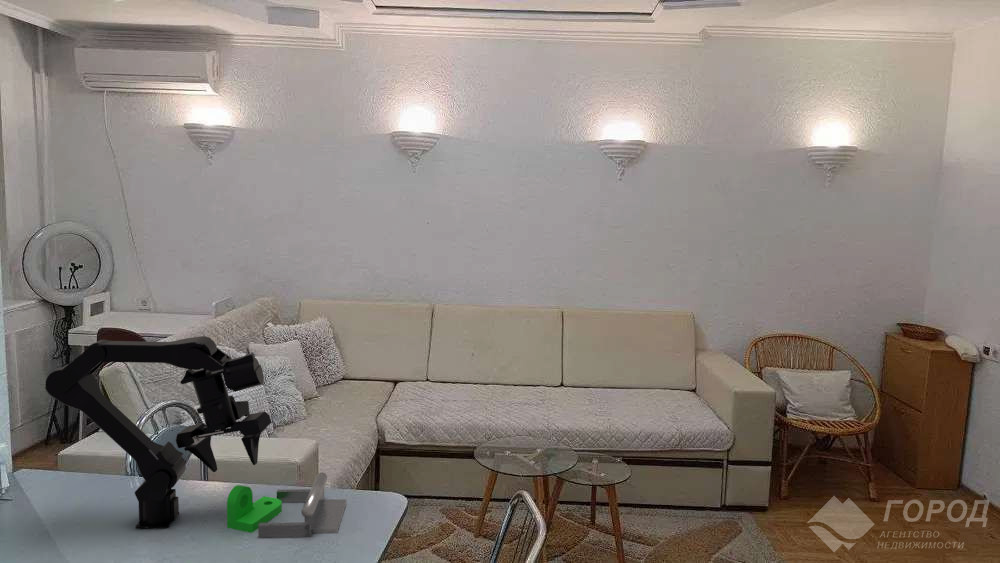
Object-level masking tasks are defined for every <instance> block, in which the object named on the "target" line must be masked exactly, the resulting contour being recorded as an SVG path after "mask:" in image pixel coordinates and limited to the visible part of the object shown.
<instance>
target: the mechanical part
mask: <svg viewBox="0 0 1000 563" xmlns="http://www.w3.org/2000/svg"><path fill="white" fill-rule="evenodd" d="M253 495H254V494H253V490H252V488H251V487H249V486H247V485H240V484H238V485H235V486H234V487H233V488H232V489H231V490H230V491H229V493H228V496H227V499H226V524H227V526H226V528H227V529H231V530H236V529H237V530H236V531H240V532H246V533H247V532H248V533H251V534H252V533H254V532H256V531H257V530H258V525H259V523H270V521H272V520H273V519H274V518H276V517H277V516H278V514H279V513H280V512H281V513H282V511H283V510H282V508H283V506H282V505H283V503H282V502H281V500H279V499H277V497H272V496H271V497H270V496H266V495H265V496H262V497H260V498H259V499H257V500H255V501H254V500H253V498H254V497H253ZM253 501H254V502H253ZM281 513H280V514H281ZM280 514H279V515H280ZM275 516H276V517H275ZM272 518H273V519H272Z"/></svg>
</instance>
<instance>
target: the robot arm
mask: <svg viewBox="0 0 1000 563" xmlns="http://www.w3.org/2000/svg"><path fill="white" fill-rule="evenodd" d="M104 363H144V364H145V363H147V364H149V363H150V364H151V363H152V364H153V363H154V364H155V363H157V364H158V363H159V364H167V365H171V366H174V367H175V368H181V369H185V370H186V371H185V374H184V375H183V377H182V379H181V380H180V384H181V385H185V384H189V383H192V385H193V388H194V392H195V394H196V398H197V402H198V404H199V407H198V408H196V412H197V414H198V415H199V414H202V417H203V420H204V423H203V422H202V423H201V422H200V423H197V424H196V423H195V424H192V425H188V426H187V427H185V428H184V429H182V430H181V431H180V432H178V433H177V434H176V436H175V442H176V446H177V448H178V449H181V448H183V449H184V451H188V452H190V454H192V455H194V456H195V457H196V458H197V459H199V460H200V462H202V463H203V464H204V465H205V466H206V467H207V468H208V469H209V470H210V471H211V472H213V473H217V471H218V464H217V462H216V458H215V455H214V452H213V449H212V446H211V444H212V443H211V442H212V437H214V436H219V435H224V434H229V433H230V434H231V433H234V432H235V433H237V432H240V434H241V435H243V437H241V438H240V439H241V442H242V444H243V446H244V450H245V451H246V453H247V455H248V458H249V460H250V462H251V464H252V465H253V466H256V465H257V464H258V459H259V458H258V457H259V446H260V445H259V444H260V438H261V435H262V433H263V432H264V431H265V430H266V429H267V427H269V426H270V425H271V424H272V420H271V419H272V418H271V416H270V414H269V412H267V411H261V412H254V413H251V412H250V404H249V400H237V401H236V400H235V397H234V396H233V395H232V394H231V395H229V392H228V389H229V391H231V390H232V391H233V392H235V393H236V392H240V391H242V390H247V389H251V388H255V387H258V386H261V385H264V382H265V377H264V371H263V367H262V365H261V364H260V363H259V361H258V359H257V357H255V353H254V352H250V353H247V354H245V355H242V356H239V357H235V358H232V357H231V356H229V355H228V354H227V353H225V352H224V351H222V350H221V349H220V348H218V347H217V344H216V342H215V341H214V340H213V339H212V338H211V337H209V336H205V335H203V336H202V335H201V336H194V337H187V338H183V339H182V338H181V339H176V340H172V341H138V340H137V341H136V340H135V341H134V340H133V341H132V340H129V341H128V340H108V339H100V340H98V341H96V342H94V343H92V344H90V345H88V347H87V349H85V350H84V351H83V352H82V353H81V354H80V355H78V356H77V357H76V358H75V359H73V360H72V361H71V362H70V363H67V364H65V365H63V366H62V367H60V368H58V369H56V370H53V371H52V372H50V373H49V375H47V376H46V379H45V387H44V388H45V390H46V392H47V394H48V395H49V396H51V398H54V399H55V400H56V401H58V402H60V403H61V404H63V405H65V406H67V407H70V408H72V409H75V410H78V411H79V412H80V411H81V412H82V413H83V414H85V416H86V417H88V419H89V420H91V422H93V423H94V424H95V425H96V426H97V427H98V428H99V429H100V430H102V432H104V433H105V434H106V435H107V436H108V437H109V438H110V439H111V440H112V441H113V442H114V443H116V444H117V445H118V446H119V447H120V448H121V449H123V451H124V452H125V453H126V454H128V455H129V456H130V457H131V458H132V459H133V460H134V462H135V464H136V466H137V469H138V471H139V473H140V476H141V477H142V478H143V479H144V481H143V482H142V483H141V484H140V485H139V486H138V487H137V489H136V490H135V491H134V496H135V497H136V499H137V501H138V522H137V523H136V524H135V529H162V528H163V529H164V528H166V529H167V528H169V527H171V525H172V524H173V523H174V521H175V520H176V519H177V518H178V516H179V515H180V509H179V505H180V504H179V496H176V494H177V492H176V488H174V487H175V485H176V484H177V483H178V481H179V480H180V479H181V478H182V476H183V475H184V474H185V471H186V469H187V462H186V460H185V458H184V457H183V455H184V453H183V452H182V451H180V450H178V449H177V448H176V447H175V446H174V445H173V443H172V442H170V441H167V442H166V443H165V444H164V445H162V444H159V443H156V442H154V440H152V439H151V438H150V437H149V436H148V435H147V434H146V433H145V432H143V430H142V429H140V428H139V427H138V426H137V425H136V424H135V422H133V421H132V420H131V419H130V418H128V417H127V415H126V414H124V413H123V412H122V411H121V410H120V409H119V408H118V407H117V406H116V405H115V404H114V403H113V402H111V401H110V400H109V399H108V398H107V397H106V396H105V395H104V394H103V393H102V390H101V388H100V385H99V383H98V380H97V379H96V377H95V376H94V375H93V374H94V373H95V372H96V371H97V370H99V368H100V367H102V365H103V364H104ZM250 413H251V414H250ZM243 417H245V418H244V419H242V418H243ZM241 419H242V420H241Z"/></svg>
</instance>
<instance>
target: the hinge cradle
mask: <svg viewBox="0 0 1000 563" xmlns="http://www.w3.org/2000/svg"><path fill="white" fill-rule="evenodd" d="M327 480H328V475H327V474H326V473H324V472H319V473H318V474H317V475H316V476H315V479H314V481H313V484H312V486H311V488H310V489H309V488H307V489H305V488H304V489H301V488H300V489H298V488H297V489H277V490H276V498H277V499H279V500H281V502H282V504H283V503H284V502H285V503H286V504H287V503H296V504H297V503H304V505H303V507H302V509H301V515H302V517H304V521H303V522H300V521H299V522H296V521H295V522H267V523H259V525H258V529H257V530H258V531H257V533H258V539H260V538H262V539H264V538H265V539H267V538H312V534H334V533H335V534H338V533H339V528H340V526H341V522H342V519H343V515H344V511H345V509H346V505H347V499H346V498H345V499H344V498H343V499H339V498H338V499H337V498H336V499H333V498H332V499H325V495H326V494H325V488H326V487H325V486H326V483H327Z"/></svg>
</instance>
